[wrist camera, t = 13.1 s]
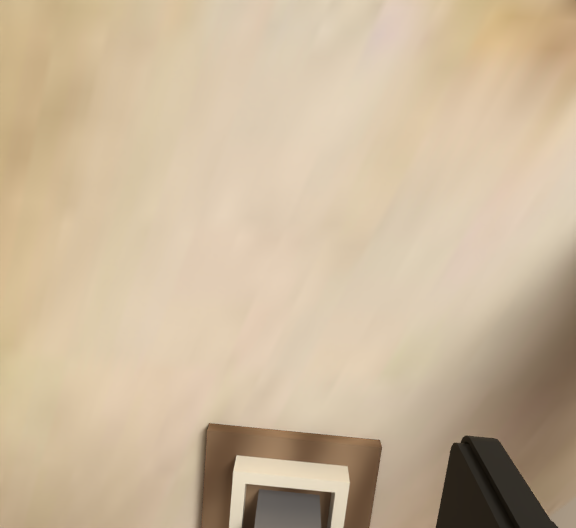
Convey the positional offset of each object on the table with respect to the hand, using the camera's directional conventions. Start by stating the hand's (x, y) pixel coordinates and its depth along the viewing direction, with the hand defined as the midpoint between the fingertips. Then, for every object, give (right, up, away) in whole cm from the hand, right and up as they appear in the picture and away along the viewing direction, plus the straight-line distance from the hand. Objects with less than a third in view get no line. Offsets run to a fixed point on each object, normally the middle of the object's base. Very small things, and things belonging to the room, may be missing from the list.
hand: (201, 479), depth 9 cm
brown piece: (+1, -17, +33) cm, 38 cm away
